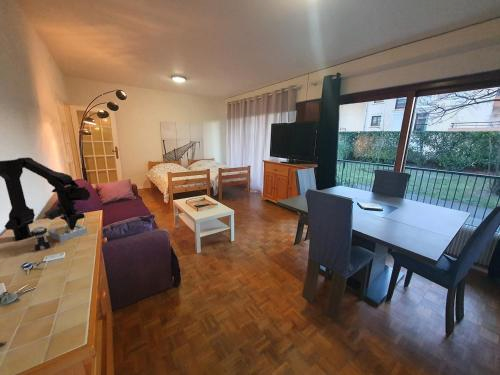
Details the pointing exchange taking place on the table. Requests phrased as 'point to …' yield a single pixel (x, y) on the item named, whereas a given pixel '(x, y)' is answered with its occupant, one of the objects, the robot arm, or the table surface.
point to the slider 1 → (60, 230)
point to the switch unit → (68, 233)
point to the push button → (40, 238)
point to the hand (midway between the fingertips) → (72, 229)
